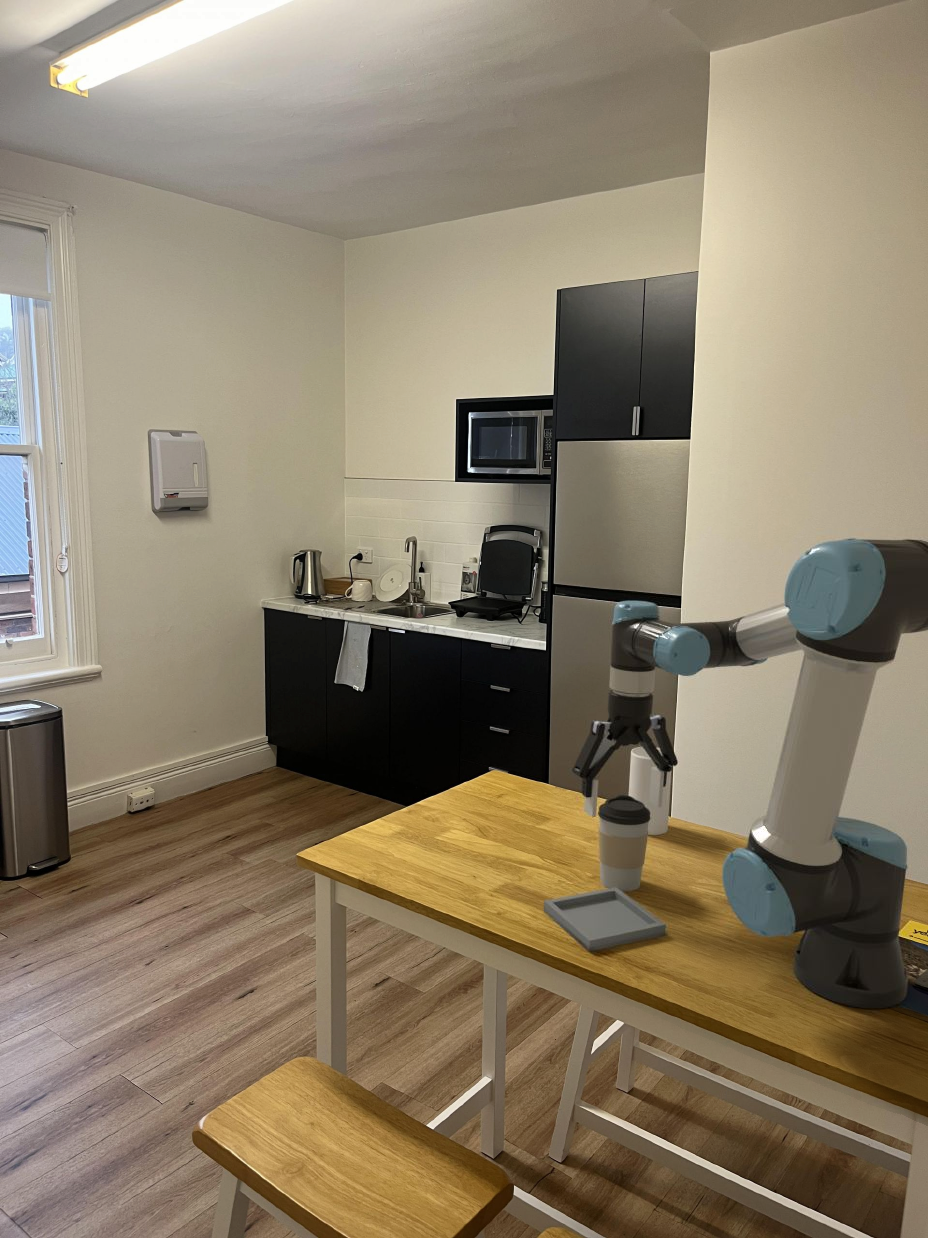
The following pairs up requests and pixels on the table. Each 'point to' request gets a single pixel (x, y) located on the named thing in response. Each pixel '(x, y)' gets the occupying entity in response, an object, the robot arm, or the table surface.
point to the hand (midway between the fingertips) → (623, 809)
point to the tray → (604, 919)
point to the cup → (648, 790)
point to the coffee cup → (622, 842)
